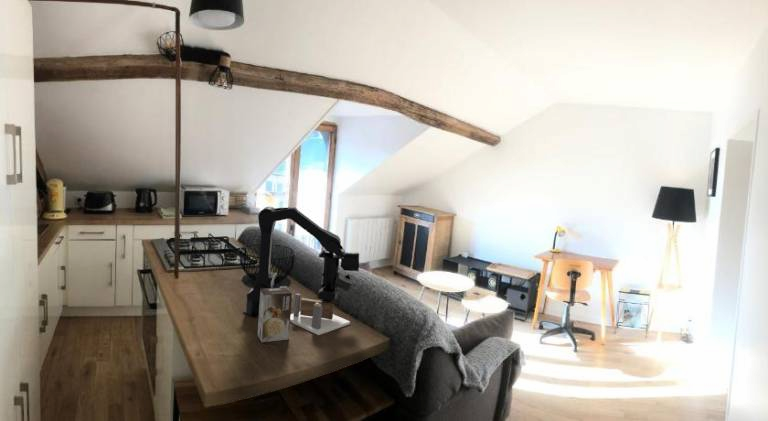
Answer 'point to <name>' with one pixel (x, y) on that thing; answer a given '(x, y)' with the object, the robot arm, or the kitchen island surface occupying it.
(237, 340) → the kitchen island surface
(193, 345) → the kitchen island surface
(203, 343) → the kitchen island surface
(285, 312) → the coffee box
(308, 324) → the gate frame
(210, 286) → the kitchen island surface
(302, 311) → the gate
